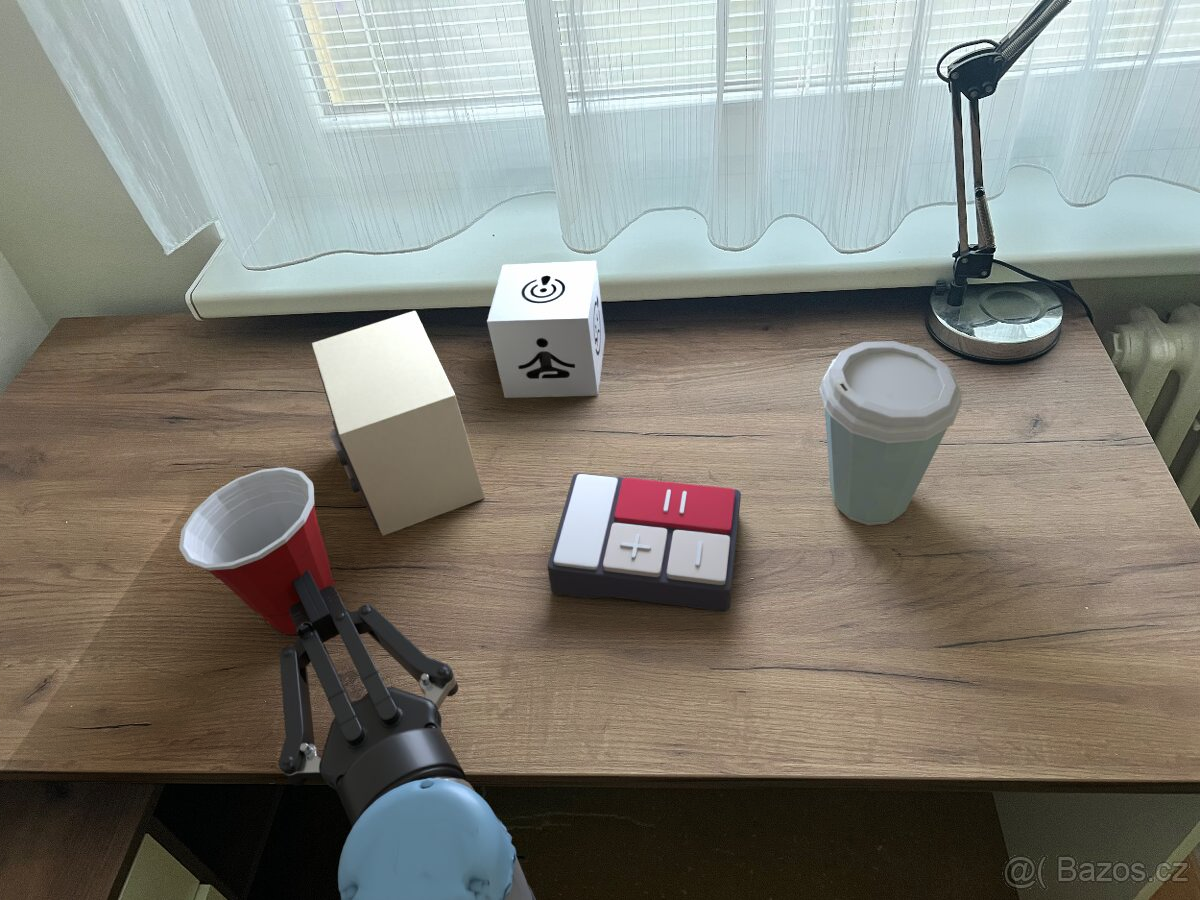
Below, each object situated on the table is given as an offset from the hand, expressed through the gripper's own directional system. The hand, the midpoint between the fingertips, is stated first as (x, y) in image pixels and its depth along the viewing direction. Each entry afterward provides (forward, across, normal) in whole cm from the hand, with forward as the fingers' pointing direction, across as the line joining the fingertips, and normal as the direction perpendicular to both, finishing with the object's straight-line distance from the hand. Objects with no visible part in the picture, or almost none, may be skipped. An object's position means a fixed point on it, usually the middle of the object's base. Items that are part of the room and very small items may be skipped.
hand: (299, 573), depth 71 cm
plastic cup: (+2, -1, -6) cm, 6 cm away
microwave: (+11, +14, -6) cm, 19 cm away
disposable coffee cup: (-18, +45, -6) cm, 49 cm away
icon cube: (+16, +33, -6) cm, 37 cm away
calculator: (-11, +26, -6) cm, 29 cm away
